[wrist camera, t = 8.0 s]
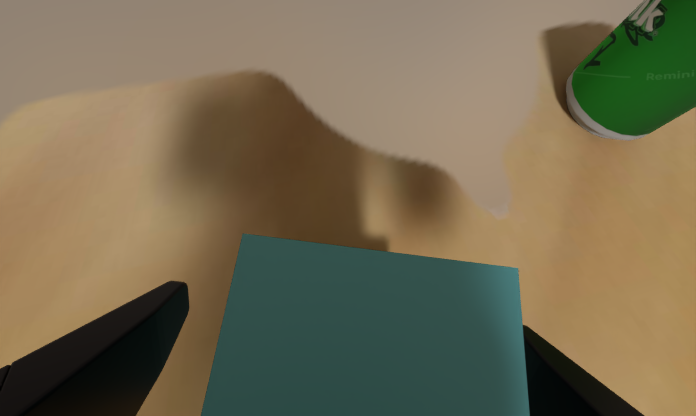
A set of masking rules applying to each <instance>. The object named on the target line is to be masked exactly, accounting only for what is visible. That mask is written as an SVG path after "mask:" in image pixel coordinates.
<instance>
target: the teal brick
mask: <svg viewBox="0 0 696 416" xmlns="http://www.w3.org/2000/svg"><path fill="white" fill-rule="evenodd" d="M201 416H530V413H529V400H528V388H527V375H526V363H525V350H524V337H523V325H522V312H521V300H520V287H519V274H518V268H513V267H505V266H497V265H489V264H481V263H473V262H465V261H457V260H449V259H441V258H433V257H425V256H417V255H409V254H402V253H394V252H386V251H378V250H370V249H362V248H354V247H346V246H338V245H330V244H322V243H314V242H306V241H299V240H291V239H283V238H275V237H267V236H259V235H251V234H243V235H242V239H241V243H240V248H239V252H238V256H237V261H236V265H235V269H234V274H233V278H232V283H231V287H230V291H229V296H228V300H227V304H226V309H225V313H224V317H223V322H222V326H221V330H220V335H219V339H218V343H217V348H216V352H215V356H214V361H213V365H212V370H211V374H210V378H209V383H208V387H207V391H206V396H205V400H204V404H203V409H202V413H201Z"/></svg>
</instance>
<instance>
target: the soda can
mask: <svg viewBox="0 0 696 416" xmlns="http://www.w3.org/2000/svg"><path fill="white" fill-rule="evenodd" d="M566 94H567V99H566V101H567V106H568V110H569V112H570V113H571V115H572V117H573V119H574V120H575V121H576V122H577V123H578V124H579V125H580V126H581V127H582V128H584V129H585V130H587V131H588V132H590V133H592V134H594V135H597V136H600V137H602V138H611V139H618V140H628V141H629V140H633V139H638V138H642V137H644V136H646V135H647V134H649V133H651V132H653V131H654V130H656V129H658V128H660V127H661V126H663V125H665V124H666V123H668V122H670V121H672V120H673V119H675V118H677V117H679V116H680V115H682V114H684V113H686V112H687V111H689V110H691V109H692V108H694V107H696V0H644V1H643V2H642V3H641V4H640V5H639V6H638V7H637V8H636V9H635V10H634V11H633V12H632V13H631V14H630V15H629V16H628V17H627V18H626V19H625V20H624V21H623V22H622V23H621V24H620V25H619V26H618V27H617V28H616V29H615V30H614V31H613V32H612V33H611V34H610V35H609V36H608V37H607V38H606V39H605V40H604V41H603V42H602V43H601V44H600V45H599V46H598V47H597V48H596V49H595V50H594V51H593V52H592V53H590V54H589V55H588V56H587V57H586V58H585V59H584V60H583V61H582V62H581V63H580V64H579V65H578V66H577V67H576V68H575V69H574V71H573V72H572V74H571V75H570V76H569V78H568V80H567V86H566Z"/></svg>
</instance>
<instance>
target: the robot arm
mask: <svg viewBox="0 0 696 416" xmlns="http://www.w3.org/2000/svg"><path fill="white" fill-rule="evenodd" d="M188 311H189V296H188V286H187V284H186V283H185V282H179V281H169V282H167V283H165V284H163V285H161V286H159V287H157V288H155V289H153V290H151V291H149V292H147V293H146V294H144V295H142V296H140V297H138V298H136V299H134V300H132V301H130V302H128V303H126V304H124V305H122V306H120V307H119V308H117V309H115V310H113V311H111V312H109V313H107V314H105V315H103V316H101V317H99V318H97V319H95V320H93V321H92V322H90V323H88V324H86V325H84V326H82V327H80V328H78V329H76V330H74V331H72V332H70V333H68V334H66V335H65V336H63V337H61V338H59V339H57V340H55V341H53V342H51V343H49V344H47V345H45V346H43V347H41V348H39V349H38V350H36V351H34V352H32V353H30V354H28V355H26V356H24V357H22V358H20V359H18V360H16V361H14V362H13V363H12V364H11V365H6V366H5V367H3V368H1V369H0V416H136V414H137V413H138V411H139V409H140V407H141V406H142V404H143V402H144V401H145V399H146V397H147V395H148V394H149V392H150V390H151V389H152V387H153V385H154V383H155V382H156V380H157V378H158V377H159V375H160V373H161V371H162V369H163V367H164V365H165V363H166V361H167V359H168V357H169V355H170V352H171V350H172V348H173V346H174V343H175V341H176V339H177V337H178V335H179V332H180V330H181V328H182V326H183V324H184V321H185V319H186V317H187V315H188ZM523 337H524V350H525V363H526V375H527V388H528V400H529V413H530V416H644V415H643V414H642V413H640V412H639V411H638V410H636V409H635V408H634V407H632V406H631V405H630V404H628V403H627V402H626V401H624V400H623V399H622V398H621V397H619V396H618V395H617V394H615V393H614V392H613V391H611V390H610V389H609V388H607V387H606V386H605V385H604V384H602V383H601V382H600V381H598V380H597V379H596V378H594V377H593V376H592V375H590V374H589V373H588V372H586V371H585V370H584V369H583V368H581V367H580V366H579V365H577V364H576V363H575V362H573V361H572V360H571V359H569V358H568V357H567V356H566V355H564V354H563V353H562V352H560V351H559V350H558V349H556V348H555V347H554V346H552V345H551V344H550V343H549V342H547V341H546V340H545V339H543V338H542V337H541V336H539V335H538V334H537V333H535V332H534V331H533V330H532V329H530V328H529V327H527V326H525V325H523Z"/></svg>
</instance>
